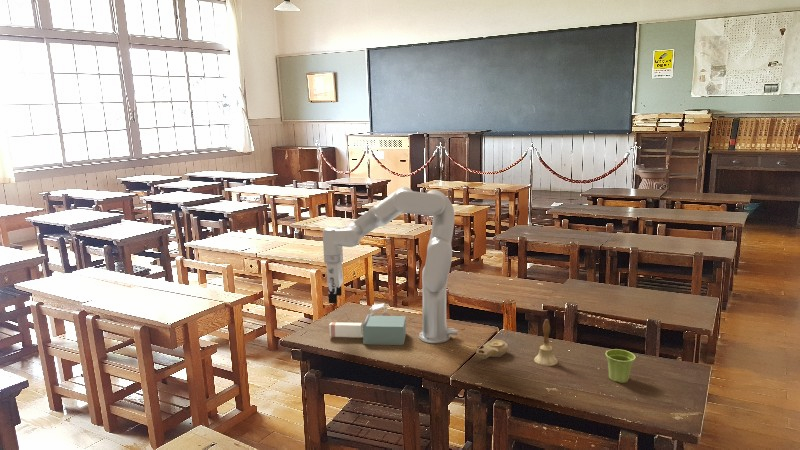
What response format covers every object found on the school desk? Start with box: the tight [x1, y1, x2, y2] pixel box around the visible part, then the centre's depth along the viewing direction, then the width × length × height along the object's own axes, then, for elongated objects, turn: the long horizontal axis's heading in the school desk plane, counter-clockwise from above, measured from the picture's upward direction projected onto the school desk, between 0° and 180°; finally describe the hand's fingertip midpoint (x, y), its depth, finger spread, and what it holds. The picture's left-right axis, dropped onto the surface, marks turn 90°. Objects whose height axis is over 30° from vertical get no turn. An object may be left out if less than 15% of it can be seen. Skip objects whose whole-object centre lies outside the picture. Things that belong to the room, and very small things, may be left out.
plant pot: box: [604, 348, 636, 384], centre depth 186 cm, size 9×9×9 cm
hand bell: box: [533, 318, 558, 367], centre depth 200 cm, size 8×8×16 cm
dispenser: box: [362, 313, 407, 346], centre depth 224 cm, size 16×12×8 cm
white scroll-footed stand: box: [369, 302, 389, 316], centre depth 249 cm, size 12×8×5 cm
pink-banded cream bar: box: [328, 321, 363, 338], centre depth 225 cm, size 13×3×5 cm, turn 85°
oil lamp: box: [475, 339, 509, 359], centre depth 206 cm, size 11×14×5 cm
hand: (335, 299), depth 223 cm, fingers open, 9 cm apart
